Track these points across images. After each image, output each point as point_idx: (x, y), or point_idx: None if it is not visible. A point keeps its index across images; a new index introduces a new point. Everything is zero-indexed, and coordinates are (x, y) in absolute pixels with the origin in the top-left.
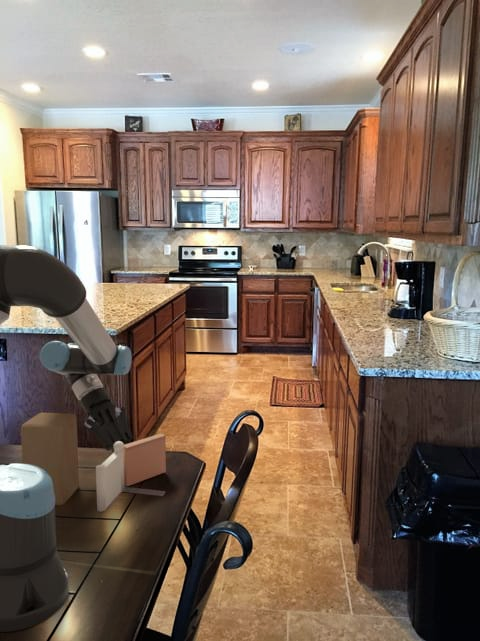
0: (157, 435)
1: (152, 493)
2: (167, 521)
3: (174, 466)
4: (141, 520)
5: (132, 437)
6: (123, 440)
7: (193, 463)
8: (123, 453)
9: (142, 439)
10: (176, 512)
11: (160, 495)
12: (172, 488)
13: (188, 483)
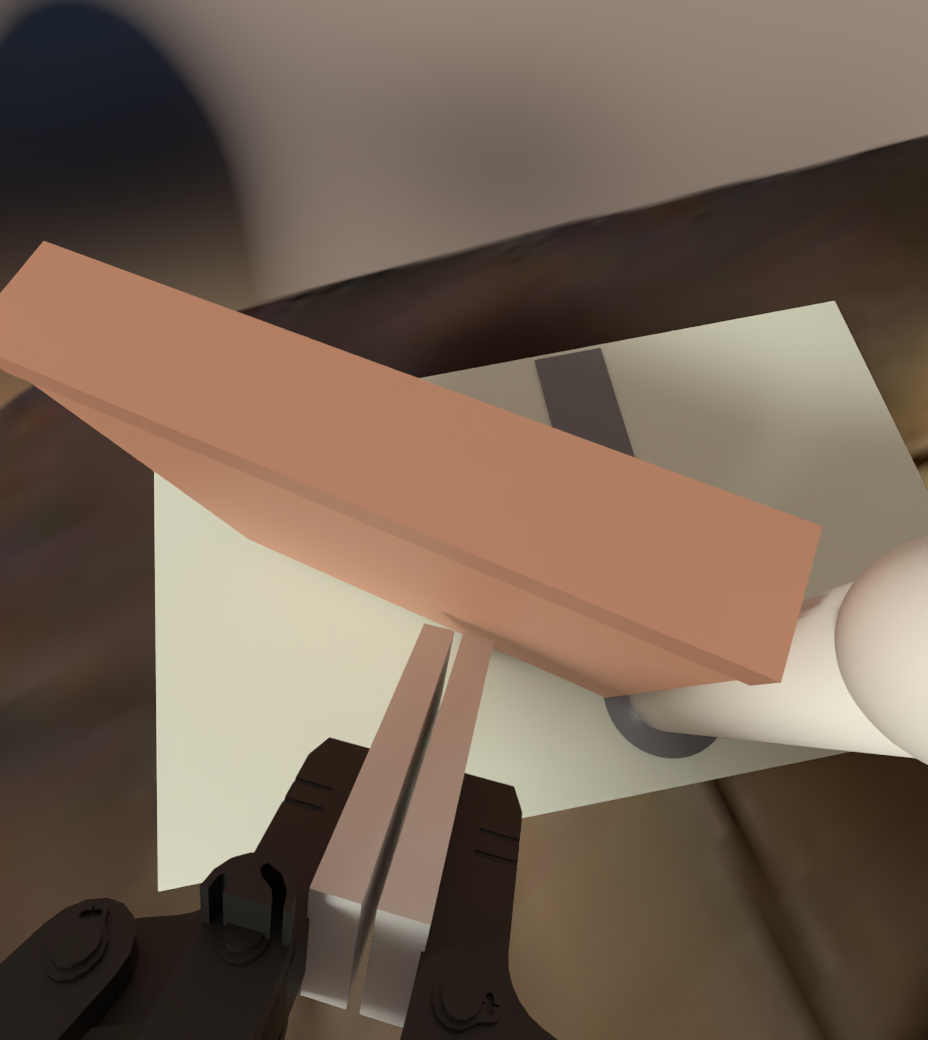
0: (68, 348)
1: (605, 420)
2: (807, 214)
3: (125, 514)
4: (891, 332)
5: (76, 909)
6: (264, 1022)
7: (45, 413)
8: (811, 599)
9: (327, 478)
10: (701, 217)
11: (601, 362)
12: (456, 363)
13: (353, 310)
